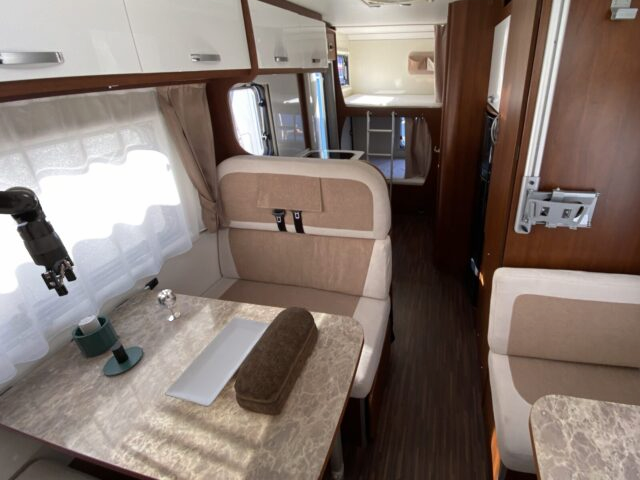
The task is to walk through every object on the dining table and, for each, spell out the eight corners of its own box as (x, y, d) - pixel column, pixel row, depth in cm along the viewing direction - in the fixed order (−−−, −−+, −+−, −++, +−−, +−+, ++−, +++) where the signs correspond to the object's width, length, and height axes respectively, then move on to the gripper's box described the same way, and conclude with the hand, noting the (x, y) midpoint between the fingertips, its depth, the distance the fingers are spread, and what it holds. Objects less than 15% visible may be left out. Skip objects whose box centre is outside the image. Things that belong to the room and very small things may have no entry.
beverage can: (111, 342, 113) (97, 318, 108) (94, 352, 109) (80, 327, 104) (106, 337, 115) (93, 313, 111) (90, 346, 111) (75, 322, 107)
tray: (273, 329, 116) (271, 322, 114) (211, 414, 88) (208, 406, 86) (236, 322, 120) (234, 315, 118) (166, 401, 92) (162, 393, 90)
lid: (100, 383, 98) (90, 367, 95) (108, 357, 107) (99, 342, 104) (141, 366, 103) (133, 350, 100) (145, 343, 112) (138, 328, 109)
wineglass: (167, 313, 126) (158, 290, 121) (183, 309, 128) (174, 286, 123) (163, 323, 121) (153, 300, 116) (180, 319, 123) (170, 296, 118)
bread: (233, 413, 88) (219, 376, 82) (287, 327, 116) (280, 294, 110) (279, 423, 85) (268, 385, 79) (322, 332, 113) (317, 299, 107)
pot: (79, 362, 106) (67, 342, 102) (87, 341, 114) (76, 323, 110) (115, 348, 111) (104, 329, 107) (120, 330, 119) (111, 311, 115)
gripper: (38, 240, 100) (61, 280, 106) (18, 262, 88) (45, 305, 94) (69, 234, 103) (89, 272, 109) (53, 254, 92) (76, 295, 98)
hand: (68, 287), depth 102 cm, fingers open, 8 cm apart
